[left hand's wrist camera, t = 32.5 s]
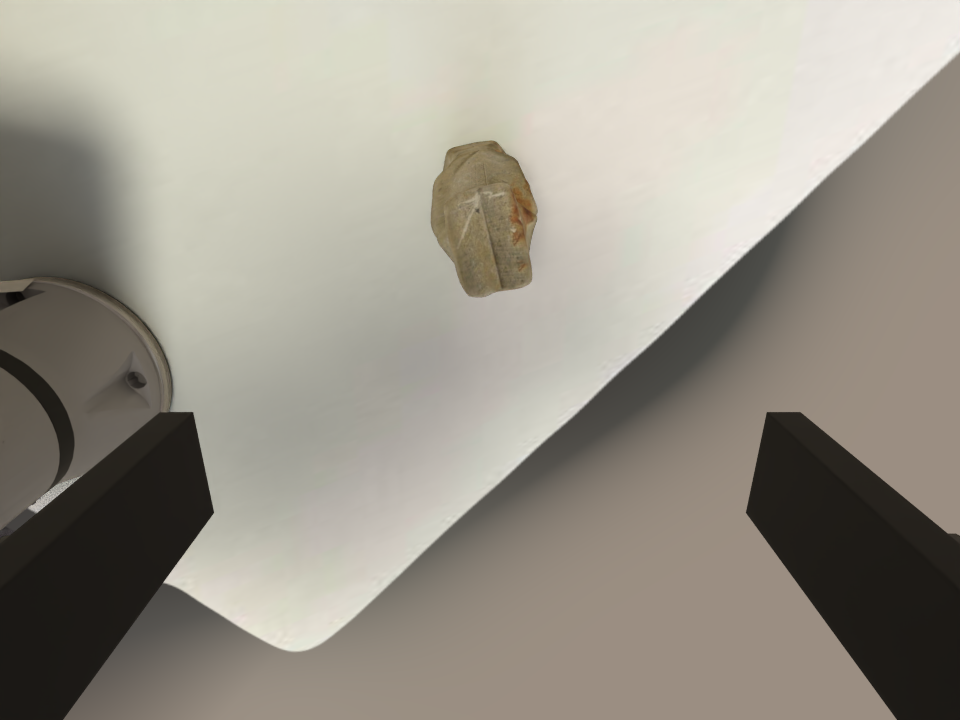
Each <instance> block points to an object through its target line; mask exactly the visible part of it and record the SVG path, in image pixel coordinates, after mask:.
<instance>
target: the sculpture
mask: <svg viewBox="0 0 960 720" xmlns="http://www.w3.org/2000/svg"><path fill="white" fill-rule="evenodd" d="M537 212H538V210H537V206H536V203H535V201H534V198H533V196H532V193H531V190H530V186H529V184H528V182H527V180H526V179H525V177H524V174H523V172H522V170H521V168H520V166H519V163H518V161H517V160H516V159H515V158H513V157H511V156H509V155H507V154H505V152H504V151H503V149H502V148H501V146H500V145H499V144H498V143H497V142H495V141H484V142H476V143H471V144H467V145H462V146H458V147H454V148H451V149H449V150H448V152H447V154H446V157H445V163H444V168H443V172H442V173H441V174H440V175H439V176H438V177H437V179H436V180H435V182H434V186H433V199H432V210H431V226H432V229H433V232H434V234H435V236H436V237H437V240H438V242H439V245H440V246H441V247H442V249H443V250H444V251H445V252H446V253H447V255H448V256H449V257H450V258H451V260H452V261H453V262H454V263H455V267H456V271H457V274H458V278H459V281H460V283H461V285H462V287H463V289H464V290H465V292H466V293H467V294H468V296H471V297H486V296H488V295H490V294H492V293H495V292H499V291H505V290H513V289H518V288H522V287H525V286H526V285H528V284H530V282H531V280H532V268H531V262H530V256H529V250H530V243H531V238H532V234H533V230H534V227H535V224H536V222H537V216H536V215H537Z"/></svg>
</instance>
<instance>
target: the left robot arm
mask: <svg viewBox="0 0 960 720" xmlns="http://www.w3.org/2000/svg"><path fill="white" fill-rule="evenodd" d="M171 394H172V389H171V378H170V373H169V369H168V365H167V362H166V359H165V357H164V355H163V353H162V350H161V348H160V347H159V345H158V343H157V341H156V340H155V338H154V337H153V335H152V334H151V332H150V331H149V330H148V329H147V327H146V326H145V325H144V324H143V323H142V322H141V321H140V320H139V318H138V317H137V316H136V315H134V314H133V313H132V312H131V311H130V310H129V309H128V308H126V307H125V306H124V305H123V304H121V303H120V302H119V301H117V300H115V299H114V298H112V297H111V296H109V295H107V294H105V293H104V292H102V291H100V290H98V289H95V288H93V287H91V286H88V285H86V284H83V283H80V282H76V281H72V280H69V279H63V278H55V277H34V278H27V279H22V280H11V281H0V530H1V529H3V528H4V527H5V526H6V525H7V524H9V523H10V522H11V521H12V520H13V519H15V518H16V517H17V516H18V515H20V514H21V513H22V512H23V511H24V510H26V509H27V508H28V507H29V506H30V505H33V504H35V503H36V500H38V499H39V498H40V497H41V496H42V495H44V494H45V493H46V492H47V491H49V490H50V489H51V488H53V487H54V486H55V485H57V484H58V483H61V482H64V481H67V480H70V479H73V478H76V477H79V476H81V475H83V476H82V477H80V478H79V479H78V480H77V481H76V482H74V483H73V484H72V485H71V486H70V487H68V488H67V489H66V490H65V491H63V492H62V493H61V494H60V495H59V496H57V497H56V498H55V499H54V500H53V501H51V502H50V503H49V504H48V505H46V506H45V507H44V508H43V509H42V510H40V511H39V512H38V513H37V514H36V515H34V516H33V517H32V518H31V519H29V520H28V521H27V522H26V523H25V524H23V525H22V526H21V527H20V528H19V529H17V530H16V531H15V532H14V533H12V534H11V535H10V536H3V537H1V538H0V720H63V719H64V718H65V716H66V715H67V713H68V712H69V711H70V709H71V708H72V707H73V705H74V704H75V702H76V701H77V700H78V698H79V697H80V696H81V694H82V693H83V692H84V690H85V689H86V687H87V686H88V685H89V683H90V682H91V681H92V679H93V678H94V676H95V675H96V674H97V672H98V671H99V670H100V668H101V667H102V665H103V664H104V663H105V661H106V660H107V659H108V657H109V656H110V655H111V653H112V652H113V650H114V649H115V648H116V646H117V645H118V644H119V642H120V641H121V639H122V638H123V637H124V635H125V634H126V633H127V631H128V630H129V629H130V627H131V626H132V624H133V623H134V622H135V620H136V619H137V618H138V616H139V615H140V613H141V612H142V611H143V609H144V608H145V607H146V605H147V604H148V602H149V601H150V600H151V598H152V597H153V596H154V594H155V593H156V592H157V590H158V589H159V587H160V586H161V585H162V583H163V582H164V581H165V579H166V578H167V576H168V575H169V574H170V572H171V571H172V570H173V568H174V567H175V565H176V564H177V563H178V561H179V560H180V559H181V557H182V556H183V555H184V553H185V552H186V550H187V549H188V548H189V546H190V545H191V544H192V542H193V541H194V539H195V538H196V537H197V535H198V534H199V533H200V531H201V530H202V528H203V527H204V526H205V524H206V523H207V522H208V520H209V519H210V518H211V516H212V515H213V513H214V510H213V506H212V501H211V496H210V491H209V486H208V482H207V477H206V472H205V467H204V462H203V458H202V453H201V448H200V443H199V438H198V433H197V429H196V424H195V419H194V414H193V412H168V411H169V408H170V403H171ZM746 513H747V515H748V516H749V517H750V519H751V520H752V522H753V523H754V524H755V526H756V527H757V528H758V530H759V531H760V533H761V534H762V535H763V537H764V538H765V539H766V541H767V542H768V544H769V545H770V546H771V548H772V549H773V550H774V552H775V553H776V554H777V556H778V557H779V559H780V560H781V561H782V563H783V564H784V565H785V567H786V568H787V570H788V571H789V572H790V574H791V575H792V576H793V578H794V579H795V581H796V582H797V583H798V585H799V586H800V587H801V589H802V590H803V592H804V593H805V594H806V596H807V597H808V598H809V600H810V601H811V602H812V604H813V605H814V606H815V608H816V609H817V611H818V612H819V613H820V615H821V616H822V618H823V619H824V620H825V622H826V623H827V624H828V626H829V627H830V629H831V630H832V631H833V632H834V634H835V635H836V637H837V638H838V639H839V641H840V642H841V644H842V645H843V646H844V648H845V649H846V650H847V652H848V653H849V654H850V656H851V657H852V659H853V660H854V661H855V663H856V664H857V665H858V667H859V668H860V669H861V671H862V672H863V674H864V675H865V676H866V678H867V679H868V681H869V682H870V683H871V685H872V686H873V687H874V689H875V690H876V692H877V693H878V694H879V696H880V697H881V698H882V700H883V701H884V702H885V704H886V705H887V707H888V708H889V709H890V711H891V712H892V713H893V715H894V716H895V718H896V719H897V720H960V536H959V535H957V534H948V533H946V532H945V531H944V530H943V529H941V528H940V527H939V526H938V525H937V524H935V523H934V522H933V521H932V520H931V519H929V518H928V517H927V516H926V515H924V514H923V513H922V512H921V511H920V510H918V509H917V508H916V507H915V506H914V505H912V504H911V503H910V502H909V501H907V500H906V499H905V498H904V497H903V496H901V495H900V494H899V493H898V492H897V491H895V490H894V489H893V488H892V487H890V486H889V485H888V484H887V483H886V482H884V481H883V480H882V479H881V478H880V477H878V476H877V475H876V474H875V473H873V472H872V471H871V470H870V469H869V468H867V467H866V466H865V465H864V464H863V463H861V462H860V461H859V460H858V459H857V458H855V457H854V456H853V455H852V454H850V453H849V452H848V451H847V450H846V449H844V448H843V447H842V446H841V445H839V444H838V443H837V442H836V441H835V440H833V439H832V438H831V437H830V436H829V435H827V434H826V433H825V432H824V431H823V430H821V429H820V428H819V427H818V426H816V425H815V424H814V423H813V422H812V421H810V420H809V419H808V418H807V417H806V416H804V415H803V414H802V413H801V412H767V414H766V419H765V424H764V429H763V433H762V438H761V443H760V448H759V453H758V458H757V462H756V467H755V472H754V477H753V482H752V486H751V491H750V496H749V501H748V506H747V510H746Z"/></svg>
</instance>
